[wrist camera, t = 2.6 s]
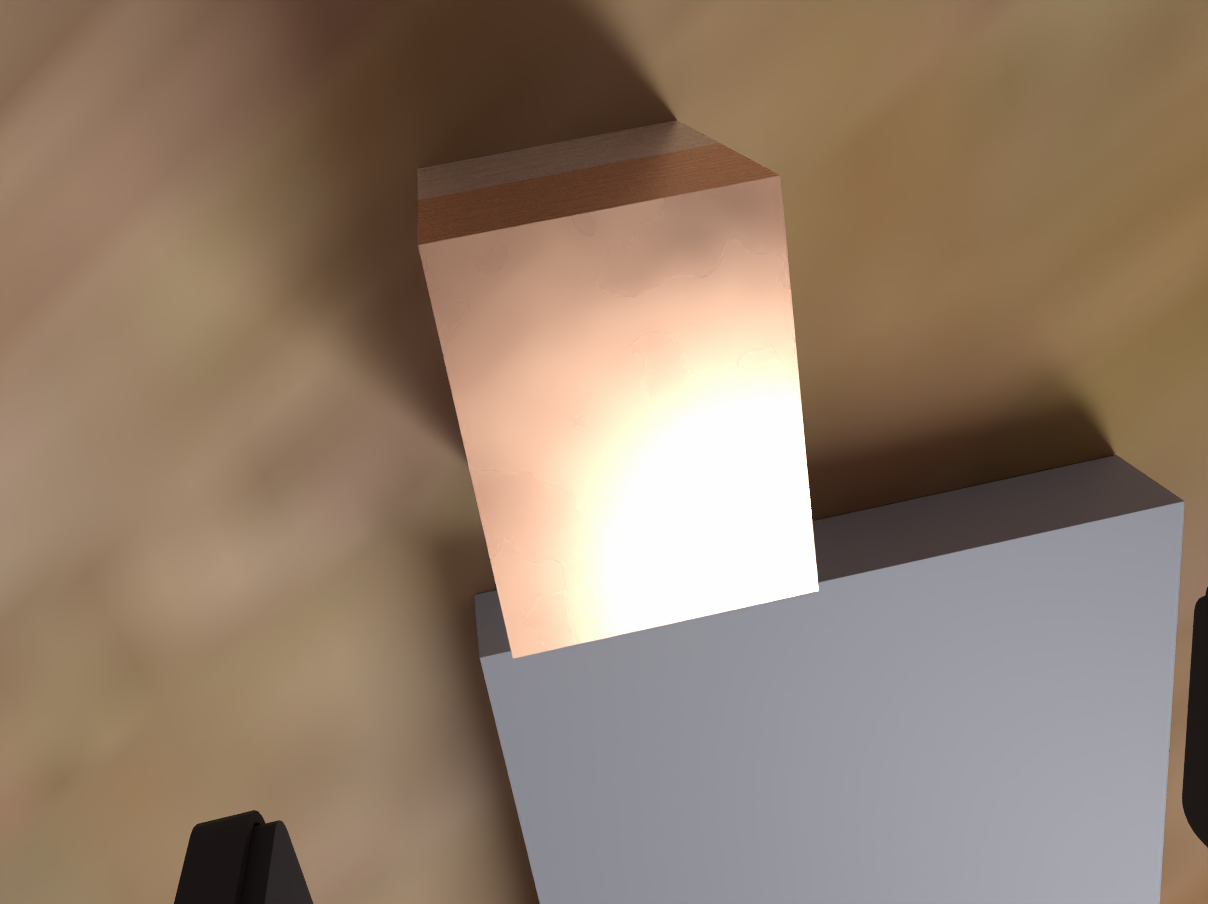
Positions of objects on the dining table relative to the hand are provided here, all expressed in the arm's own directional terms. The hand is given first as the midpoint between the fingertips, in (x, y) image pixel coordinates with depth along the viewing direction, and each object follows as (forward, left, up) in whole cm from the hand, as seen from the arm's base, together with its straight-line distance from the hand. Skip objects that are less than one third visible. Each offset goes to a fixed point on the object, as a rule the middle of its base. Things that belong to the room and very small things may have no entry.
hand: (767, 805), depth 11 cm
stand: (-5, +15, -17) cm, 23 cm away
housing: (0, 0, -17) cm, 17 cm away
